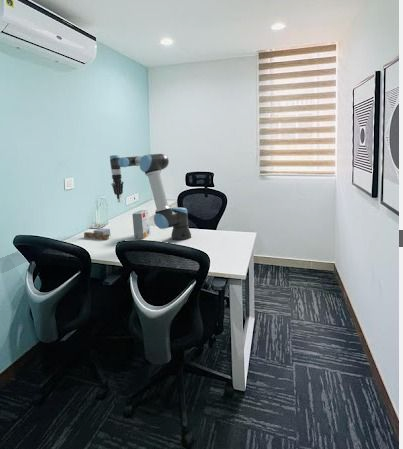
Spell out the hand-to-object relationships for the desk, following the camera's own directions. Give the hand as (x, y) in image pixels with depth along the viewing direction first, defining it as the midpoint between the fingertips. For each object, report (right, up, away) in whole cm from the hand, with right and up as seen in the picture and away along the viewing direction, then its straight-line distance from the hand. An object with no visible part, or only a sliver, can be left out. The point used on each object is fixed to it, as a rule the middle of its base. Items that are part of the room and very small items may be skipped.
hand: (119, 202), depth 281 cm
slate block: (-11, -29, -12) cm, 33 cm away
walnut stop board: (-15, -30, -16) cm, 37 cm away
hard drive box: (+23, -28, -18) cm, 41 cm away
